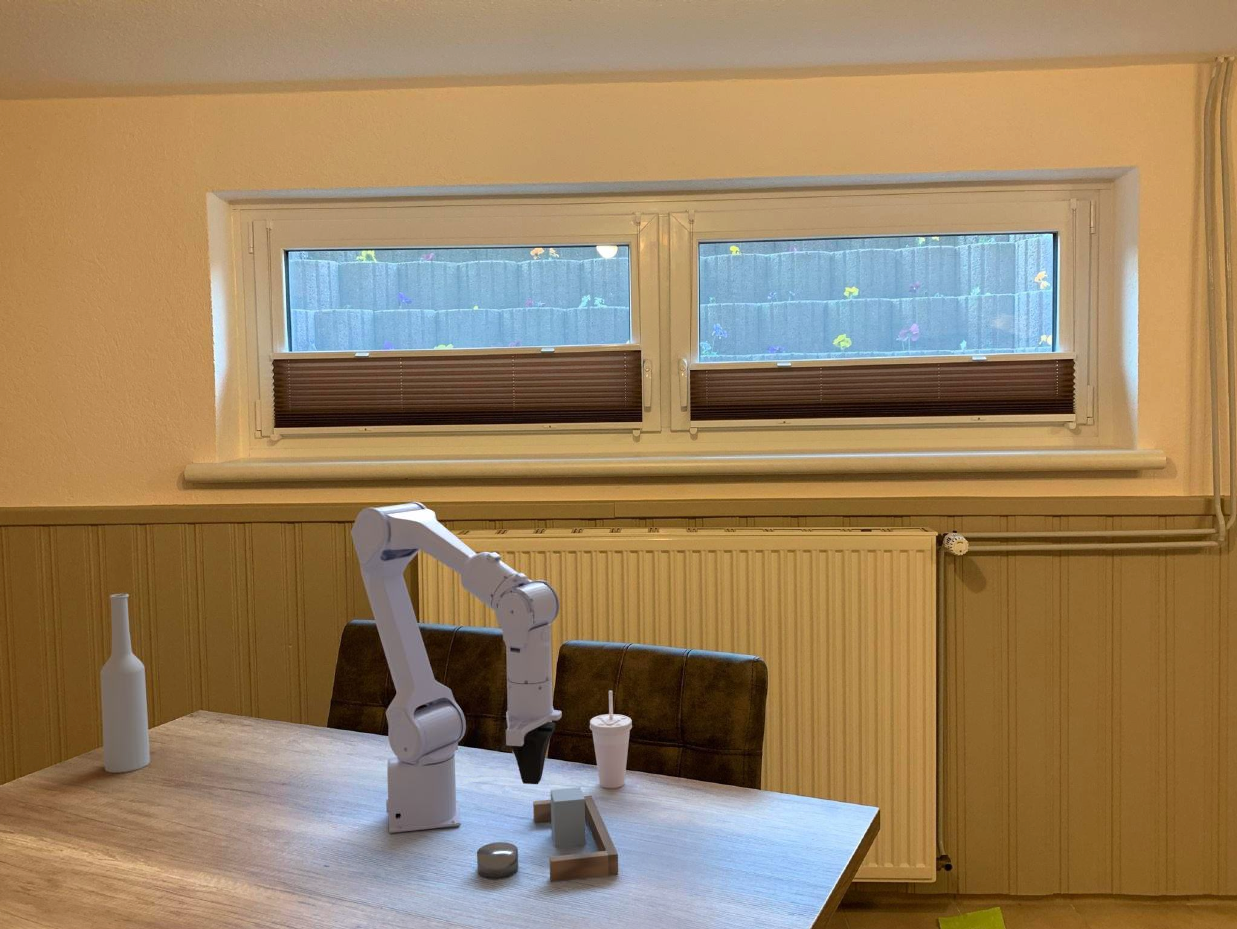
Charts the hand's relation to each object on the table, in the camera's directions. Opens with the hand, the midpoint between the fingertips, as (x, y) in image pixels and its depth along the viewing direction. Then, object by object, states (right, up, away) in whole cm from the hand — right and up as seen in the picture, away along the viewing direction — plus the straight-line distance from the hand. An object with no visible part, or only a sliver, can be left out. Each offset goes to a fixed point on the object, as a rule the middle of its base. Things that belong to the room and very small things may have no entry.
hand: (531, 782), depth 126 cm
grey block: (+5, -9, +3) cm, 10 cm away
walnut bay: (+5, -9, +1) cm, 10 cm away
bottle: (-69, -8, +33) cm, 77 cm away
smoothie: (+10, -8, +22) cm, 25 cm away
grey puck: (-4, -9, -5) cm, 11 cm away
